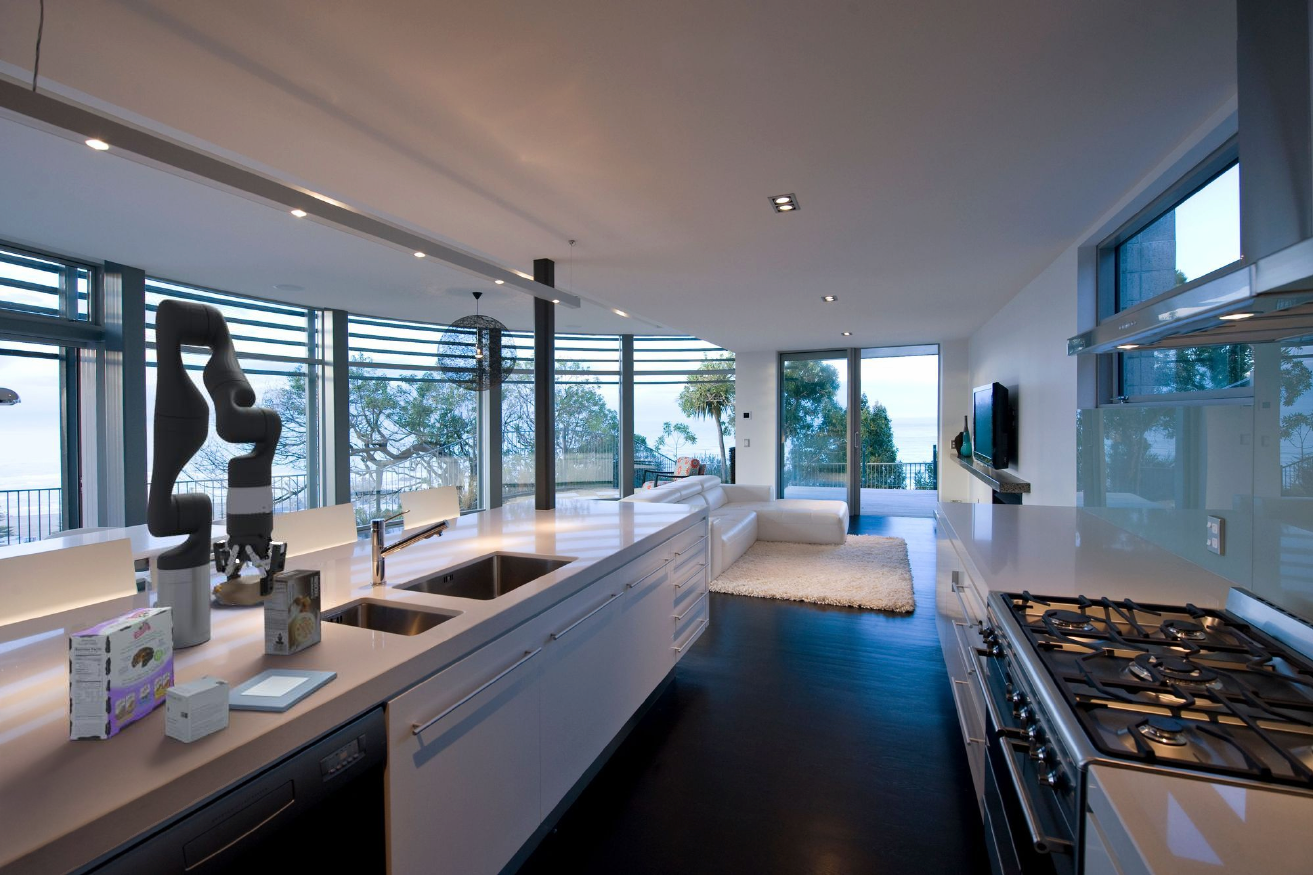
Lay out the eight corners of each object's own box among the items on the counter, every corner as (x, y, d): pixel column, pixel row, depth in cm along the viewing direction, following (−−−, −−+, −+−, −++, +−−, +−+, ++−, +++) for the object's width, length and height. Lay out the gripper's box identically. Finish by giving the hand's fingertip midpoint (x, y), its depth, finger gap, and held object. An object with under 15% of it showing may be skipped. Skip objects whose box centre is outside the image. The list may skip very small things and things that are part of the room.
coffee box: (298, 638, 131) (297, 568, 131) (322, 640, 130) (321, 569, 130) (263, 653, 122) (262, 578, 122) (288, 656, 121) (288, 580, 121)
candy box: (140, 698, 102) (139, 606, 102) (175, 697, 102) (174, 605, 102) (67, 741, 88) (66, 634, 88) (108, 739, 89) (107, 633, 88)
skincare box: (164, 735, 90) (164, 688, 90) (207, 717, 95) (207, 673, 95) (187, 744, 87) (186, 696, 87) (230, 725, 93) (230, 680, 93)
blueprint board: (207, 707, 99) (207, 702, 99) (269, 672, 113) (269, 668, 113) (283, 711, 98) (283, 706, 98) (336, 676, 111) (336, 671, 111)
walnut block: (221, 603, 110) (221, 583, 110) (246, 594, 116) (246, 574, 116) (250, 605, 109) (250, 584, 109) (274, 595, 115) (274, 576, 115)
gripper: (199, 511, 109) (199, 599, 110) (269, 513, 108) (270, 601, 108) (231, 505, 117) (232, 588, 117) (298, 507, 116) (298, 590, 116)
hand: (250, 594), depth 113 cm, fingers closed on walnut block, 6 cm apart
